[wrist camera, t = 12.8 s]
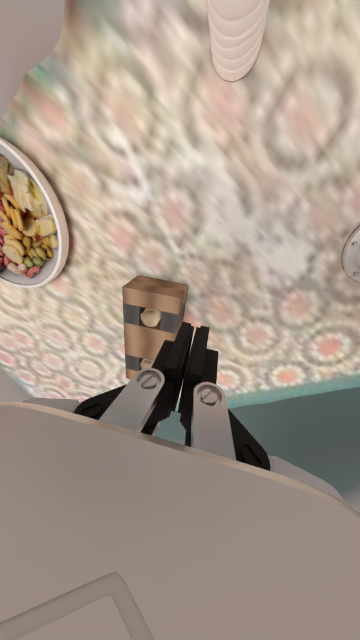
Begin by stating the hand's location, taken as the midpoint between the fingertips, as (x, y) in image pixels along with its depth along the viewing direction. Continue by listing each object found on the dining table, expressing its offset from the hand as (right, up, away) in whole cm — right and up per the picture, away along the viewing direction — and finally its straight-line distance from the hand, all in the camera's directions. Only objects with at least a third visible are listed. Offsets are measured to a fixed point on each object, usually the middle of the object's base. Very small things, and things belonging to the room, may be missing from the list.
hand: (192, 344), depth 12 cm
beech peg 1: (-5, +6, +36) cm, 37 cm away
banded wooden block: (-6, 0, +39) cm, 40 cm away
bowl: (-39, +25, +34) cm, 57 cm away
